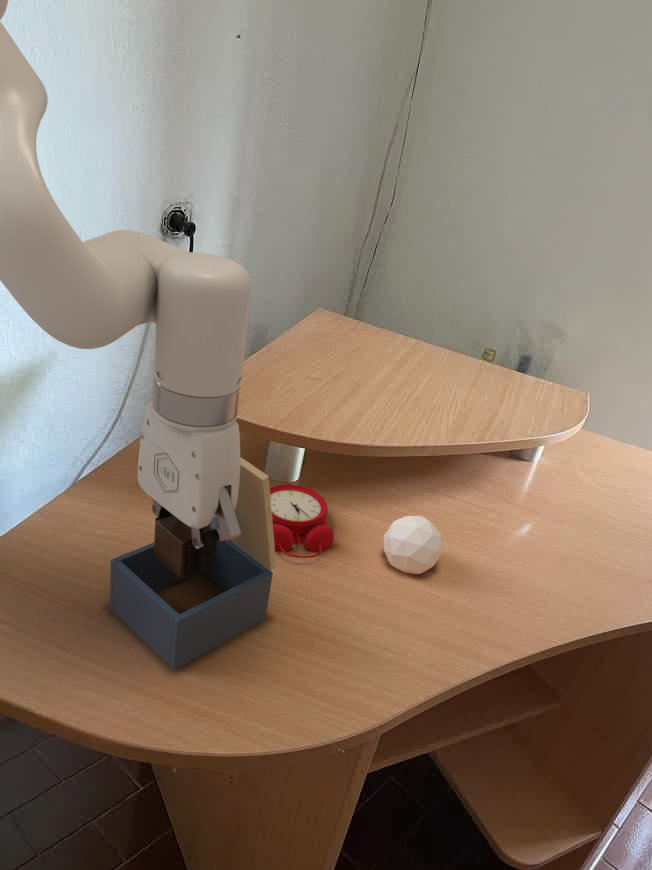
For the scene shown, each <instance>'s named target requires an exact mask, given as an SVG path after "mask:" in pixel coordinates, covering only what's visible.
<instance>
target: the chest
mask: <svg viewBox="0 0 652 870" xmlns="http://www.w3.org/2000/svg"><path fill="white" fill-rule="evenodd" d="M202 573H203V574H204V575H205V576H206V577H207V578H208V579H210V580H211V581H212V582H213V583H214V584H215V585H217V586H218V587H219V588H220V589H222V590H223V592H222V593H220V594H218V595H215V596H213V597H211V598H210V599H207V600H206V601H204V602H202V603H200V604H198V605H196V606H194V607H192V608H190V609H188V610H186V611H184V612H182V613H179V612H178V611H176V609H174V608H173V607H172V606H171V605H170V604H169V603H168V602H166V601H165V599H163V598H162V597H161V596H160V595H159V594H157V592H159V591H161V590H163V589H165V588H167V587H169V586H172V585H174V584H176V583H178V582H180V581H182V580H185V579H186V578H189V577H188V576H187V575H186V576H184V577H181V578H179V577H178V576H177V575H175V574H174V573H173V572H172V571H171V570H170V569H168V568H167V567H166V566H165V565H164V564H163V563H161V562H160V561H159V560H158V559H157V558H156V557H155V556H154V542H151V543H149V544H145V545H143V546H141V547H139V548H137V549H134V550H131V551H129V552H126V553H123V554H121V555H118V556H117V557H114V558H111V559H110V573H109V574H110V578H109V579H110V580H109V581H110V582H109V589H110V590H109V609H110V610H111V612H113V613H114V614H115V615H116V616H117V617H118V618H119V619H120V620H122V622H123V623H125V625H126V626H128V628H129V629H131V631H133V632H134V634H135V635H137V637H139V638H140V639H141V641H142V642H144V643H145V644H146V645H147V646H148V647H149V648H150V649H151V650H152V651H153V652H154V653H155V654H156V655H157V656H158V657H159V658H160V659H161V660H162V661H164V663H165V664H167V666H169V667H170V669H171V670H172V671H176V670H178V669H180V668H181V667H183V666H185V665H186V664H188V663H190V662H191V661H193V660H196V659H197V658H199V657H200V656H202V655H204V654H206V653H208V652H209V651H212V650H213V649H215V648H216V647H218V646H220V645H222V644H223V643H225V642H228V641H229V640H230V639H232V638H234V637H235V636H237V635H239V634H241V633H243V632H244V631H247V630H248V629H250V628H252V627H253V626H255V625H257V624H258V623H260V622H262V621H263V620H265V619H266V618H267V617H266V616H267V611H268V605H269V599H270V593H271V587H272V582H273V581H272V580H273V575H274V573H273V571H270V570H269V569H268V568H266V567H265V566H264V565H262V564H261V563H260V562H259V561H257V560H256V559H255V558H253V557H252V556H251V555H250V554H248V553H247V552H246V551H244V550H243V549H242V548H241V547H239V546H238V545H237V544H235V543H234V542H233V541H231V540H229V541H217V543H216V553H215V562H214V566H213V567H212V568H211V569H209V570H207V571H205V572H202Z"/></svg>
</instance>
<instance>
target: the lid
mask: <svg viewBox="0 0 652 870" xmlns="http://www.w3.org/2000/svg"><path fill="white" fill-rule="evenodd" d="M270 488H271V486H270V476H269V475H268V474H266V473H265V472H263V471H262V470H260V469H259V468H257V467H256V466H255V465H253V464H251V463H250V462H249V461H247V460H246V459H244V458H243V457H241V456H240V481H239V492H238V500H237V505H236V509H235V515H236V518H237V521H238V524H239V527H240V530H241V535H240V536H238V537H236V538H234V539H231V541H233V542H234V543H235V544H236V545H238V546H239V547H240V548H242V549H243V550H244V551H245V552H247V553H248V554H249V555H251V556H252V557H253V558H254V559H256V560H257V561H258V562H260V563H261V564H262V565H263V566H265V567H266V568H267V569H268V570H270V571H271V572H273V570H275V569H276V568H277V560H276V550H275V547H274V534H273V522H272V510H271V498H270Z"/></svg>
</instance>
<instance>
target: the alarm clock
mask: <svg viewBox="0 0 652 870" xmlns="http://www.w3.org/2000/svg"><path fill="white" fill-rule="evenodd" d="M270 498H271V510H272V522H273V534H274V547H275V551H279V552H280V551H281V552H283V553H284V554H285V555H287V556H289V557H292V558H299V559H309V558H316V557H318V556H320V554H321V553H322V551H324V550H327V549H329V548H330V547H332V545H333V543H334V539H335V532H334V530H333V528H332V527H331V526H329V525H328V521H327V516H328V512H329V511H328V504H327V501H326V500H325V498H324V497H323V496H322V495H320V494H319V493H318V492H317V491H316V490H313V485H309V487H306V486H302V485H297V484H278V485H274V486H270ZM294 535H295V536H294ZM302 544H304V548H305V549H306V550H308V551H310V552H317V553H316V554H315V553H314V554H312V555H296V554H291V553H289V551H290V550H291V548H292V547H293V545H302Z"/></svg>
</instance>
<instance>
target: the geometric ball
mask: <svg viewBox="0 0 652 870" xmlns="http://www.w3.org/2000/svg"><path fill="white" fill-rule="evenodd" d="M442 542H443V541H442V535H441V533H440V531H439V530H438V528H437V527H436V525H435V524H434V523H433V522H431V521H430V520H428V519H427V518H426V517H424V516H423V515H405V516H403V517H400V518H398V519H396V520H394V521H393V522H392V524H391V525H390V526H389V527H388V529H387V530H386V532H385V533H384V535H383V551H384V554H385V556H386V558H387V561H388V562H389V565H390V566H392V567H393V568H395V569H396V570H398V571H400V572H402V573H405V574H411V575H421V574H423V573H425V572H426V571H428V570H430V569H431V568H433V567H434V566H435V564H436V563H437V562H438V560H439V559H440V557H442V554H443V543H442Z"/></svg>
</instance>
